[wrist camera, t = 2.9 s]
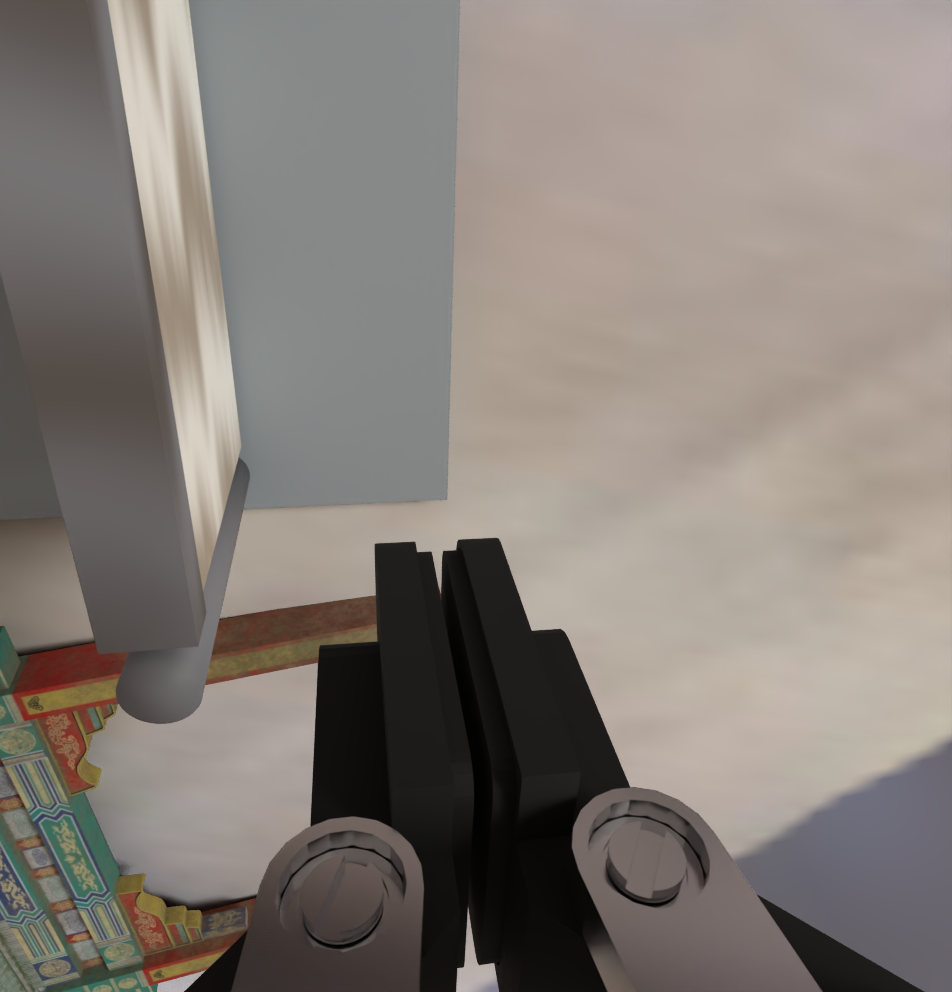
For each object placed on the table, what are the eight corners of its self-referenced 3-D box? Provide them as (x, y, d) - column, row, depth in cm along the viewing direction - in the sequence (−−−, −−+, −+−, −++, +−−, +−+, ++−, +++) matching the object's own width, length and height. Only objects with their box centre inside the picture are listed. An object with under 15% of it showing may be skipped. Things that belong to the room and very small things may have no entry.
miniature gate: (481, 972, 39) (-156, 1159, 33) (458, 878, 44) (-103, 1028, 38) (449, 548, 26) (-606, 734, 20) (421, 480, 31) (-440, 615, 25)
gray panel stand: (-197, 515, 25) (-580, 811, 14) (-578, -338, 15) (-2531, -1289, 5) (443, 487, 29) (508, 706, 18) (459, -210, 19) (614, -590, 9)
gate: (91, -119, 18) (-173, -365, 8) (187, -110, 18) (36, -336, 9) (182, 448, 24) (92, 654, 15) (250, 445, 25) (203, 646, 16)
